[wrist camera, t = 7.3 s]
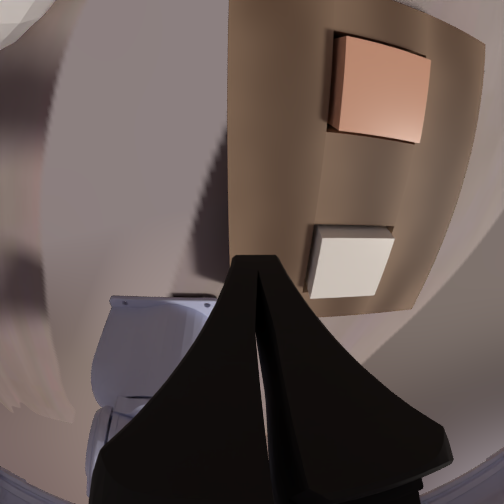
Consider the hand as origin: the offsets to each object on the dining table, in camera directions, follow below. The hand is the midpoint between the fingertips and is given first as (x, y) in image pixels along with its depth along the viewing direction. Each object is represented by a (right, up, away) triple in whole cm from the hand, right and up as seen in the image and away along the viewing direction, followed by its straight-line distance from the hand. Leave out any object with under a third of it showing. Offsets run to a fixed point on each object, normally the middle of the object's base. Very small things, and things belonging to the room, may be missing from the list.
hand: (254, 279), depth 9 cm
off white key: (+6, +2, +9) cm, 11 cm away
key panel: (+6, +6, +7) cm, 11 cm away
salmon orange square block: (+6, +10, +3) cm, 12 cm away
